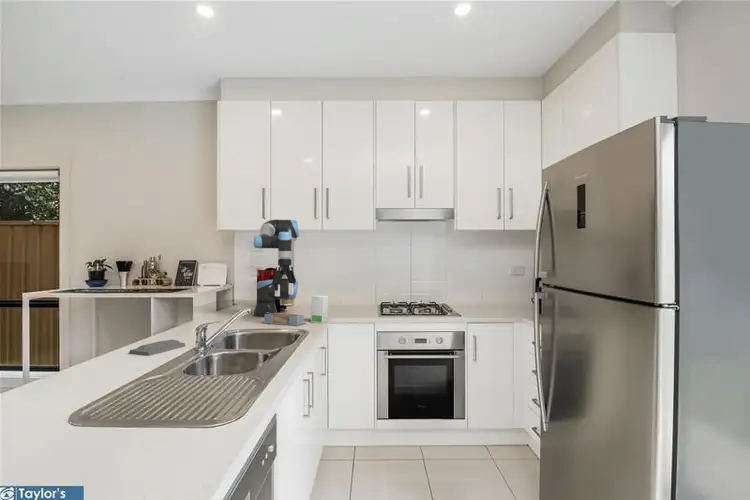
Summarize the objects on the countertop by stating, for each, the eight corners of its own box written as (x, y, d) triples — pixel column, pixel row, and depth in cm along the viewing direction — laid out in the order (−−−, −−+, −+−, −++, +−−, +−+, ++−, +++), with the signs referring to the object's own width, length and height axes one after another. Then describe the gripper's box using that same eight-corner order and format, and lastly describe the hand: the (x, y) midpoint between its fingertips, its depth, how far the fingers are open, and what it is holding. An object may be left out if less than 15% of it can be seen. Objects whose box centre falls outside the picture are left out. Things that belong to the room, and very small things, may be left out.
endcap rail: (271, 321, 267) (271, 312, 268) (306, 323, 258) (306, 315, 258) (261, 323, 258) (261, 314, 258) (296, 326, 249) (296, 317, 249)
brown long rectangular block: (274, 321, 263) (274, 312, 263) (297, 323, 256) (297, 314, 256) (270, 322, 259) (270, 313, 259) (294, 324, 253) (294, 315, 253)
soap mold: (128, 355, 174) (128, 346, 174) (167, 346, 193) (167, 338, 193) (148, 357, 170) (149, 348, 170) (186, 347, 189) (186, 339, 189)
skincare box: (310, 322, 265) (310, 296, 265) (316, 321, 271) (316, 295, 271) (323, 323, 261) (323, 296, 262) (328, 321, 268) (328, 295, 268)
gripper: (291, 258, 272) (290, 293, 272) (266, 258, 249) (265, 296, 249) (301, 258, 269) (301, 294, 269) (277, 258, 246) (276, 297, 246)
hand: (284, 295), depth 259 cm, fingers open, 13 cm apart
